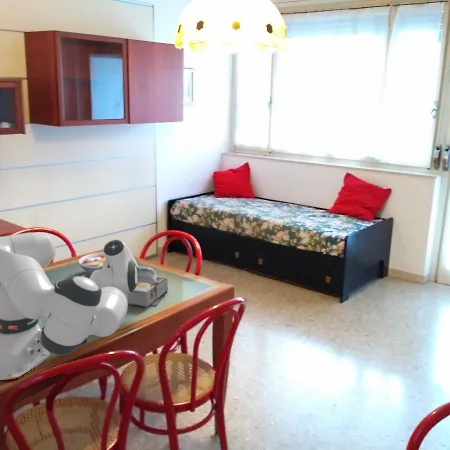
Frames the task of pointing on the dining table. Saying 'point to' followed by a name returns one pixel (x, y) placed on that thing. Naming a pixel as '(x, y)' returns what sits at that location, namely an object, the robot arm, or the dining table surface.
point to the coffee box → (148, 292)
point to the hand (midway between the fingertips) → (134, 283)
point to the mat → (150, 304)
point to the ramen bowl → (92, 261)
